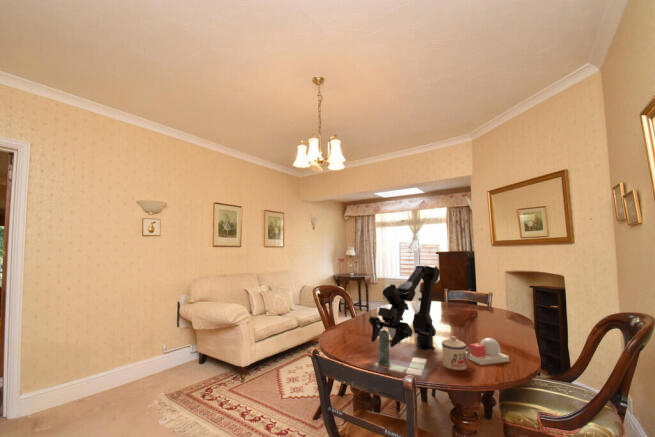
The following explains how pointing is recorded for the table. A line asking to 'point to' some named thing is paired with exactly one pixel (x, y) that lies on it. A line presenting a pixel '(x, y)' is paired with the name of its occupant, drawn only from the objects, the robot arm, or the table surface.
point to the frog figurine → (391, 332)
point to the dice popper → (487, 352)
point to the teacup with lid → (455, 354)
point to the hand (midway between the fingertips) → (381, 344)
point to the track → (412, 365)
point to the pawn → (383, 348)
